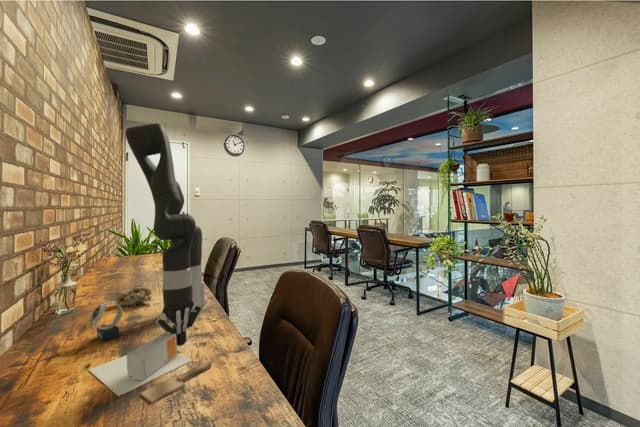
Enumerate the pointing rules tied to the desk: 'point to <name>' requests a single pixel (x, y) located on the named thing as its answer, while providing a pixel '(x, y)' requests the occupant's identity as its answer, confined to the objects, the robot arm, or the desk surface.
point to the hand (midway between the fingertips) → (180, 344)
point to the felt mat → (117, 373)
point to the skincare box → (151, 356)
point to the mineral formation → (133, 296)
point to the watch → (109, 330)
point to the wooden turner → (172, 384)
